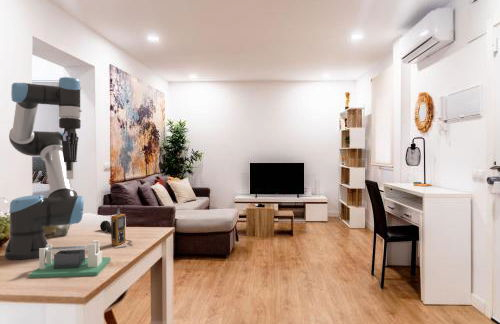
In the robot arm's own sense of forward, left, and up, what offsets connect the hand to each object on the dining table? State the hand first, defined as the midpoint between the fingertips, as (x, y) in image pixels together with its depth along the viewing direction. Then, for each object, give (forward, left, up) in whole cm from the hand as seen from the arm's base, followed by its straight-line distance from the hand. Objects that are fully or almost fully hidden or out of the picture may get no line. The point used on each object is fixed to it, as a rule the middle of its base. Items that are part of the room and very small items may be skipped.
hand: (70, 178), depth 147 cm
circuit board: (+6, -16, -30) cm, 35 cm away
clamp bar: (+5, -16, -25) cm, 30 cm away
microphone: (+3, +47, -31) cm, 56 cm away
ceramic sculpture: (-21, +39, -31) cm, 54 cm away
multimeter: (+17, +18, -31) cm, 40 cm away
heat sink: (+5, -16, -29) cm, 34 cm away
